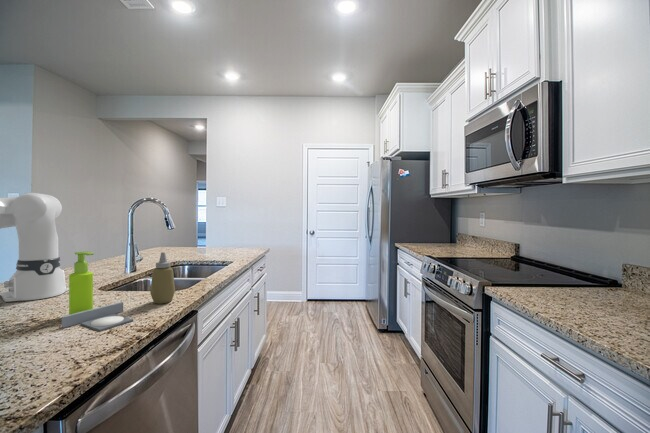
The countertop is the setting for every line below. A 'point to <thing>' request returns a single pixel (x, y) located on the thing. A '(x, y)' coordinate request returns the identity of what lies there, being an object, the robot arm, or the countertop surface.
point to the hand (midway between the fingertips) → (7, 210)
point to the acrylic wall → (91, 314)
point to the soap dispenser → (81, 286)
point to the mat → (106, 322)
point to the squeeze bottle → (162, 281)
